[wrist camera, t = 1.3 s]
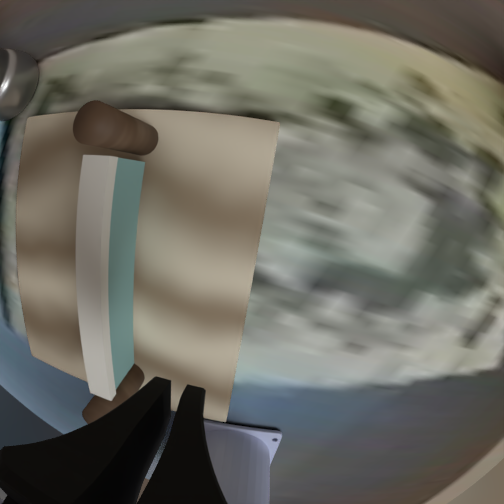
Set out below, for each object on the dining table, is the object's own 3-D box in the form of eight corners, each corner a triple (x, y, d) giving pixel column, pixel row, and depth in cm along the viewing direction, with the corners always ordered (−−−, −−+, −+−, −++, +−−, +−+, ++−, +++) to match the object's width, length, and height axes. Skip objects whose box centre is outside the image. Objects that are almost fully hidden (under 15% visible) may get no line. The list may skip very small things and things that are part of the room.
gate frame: (227, 414, 21) (215, 479, 14) (37, 351, 21) (-3, 385, 14) (279, 126, 16) (287, 87, 9) (35, 118, 16) (-25, 108, 9)
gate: (136, 363, 18) (111, 401, 14) (118, 357, 18) (90, 392, 14) (148, 162, 15) (109, 155, 11) (125, 160, 15) (83, 154, 11)
